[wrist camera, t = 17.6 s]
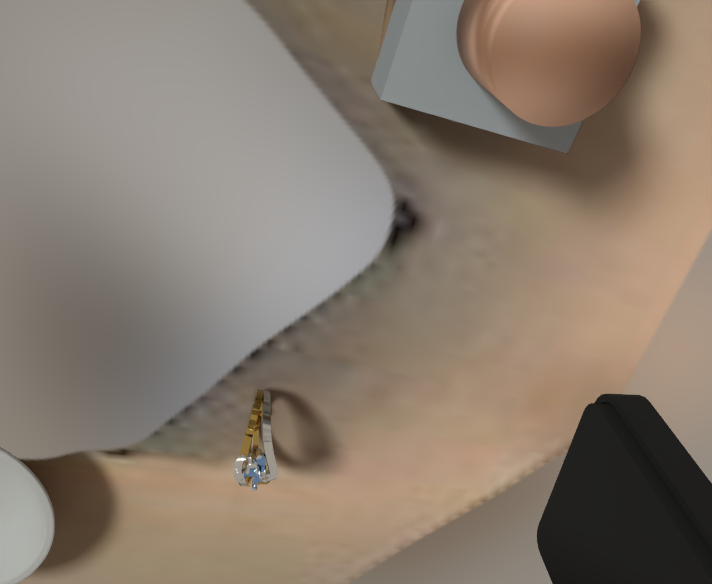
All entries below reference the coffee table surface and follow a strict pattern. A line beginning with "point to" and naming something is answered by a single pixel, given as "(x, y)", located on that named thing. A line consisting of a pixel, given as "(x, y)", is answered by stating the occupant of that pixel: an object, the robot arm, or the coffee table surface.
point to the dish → (22, 520)
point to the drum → (550, 54)
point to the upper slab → (447, 75)
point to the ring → (250, 450)
